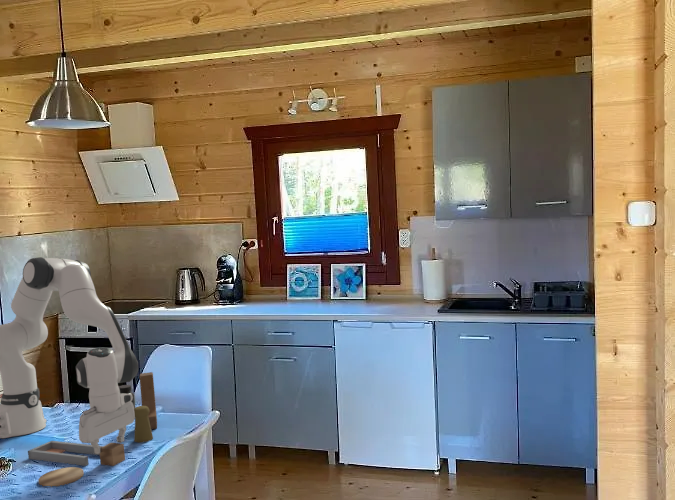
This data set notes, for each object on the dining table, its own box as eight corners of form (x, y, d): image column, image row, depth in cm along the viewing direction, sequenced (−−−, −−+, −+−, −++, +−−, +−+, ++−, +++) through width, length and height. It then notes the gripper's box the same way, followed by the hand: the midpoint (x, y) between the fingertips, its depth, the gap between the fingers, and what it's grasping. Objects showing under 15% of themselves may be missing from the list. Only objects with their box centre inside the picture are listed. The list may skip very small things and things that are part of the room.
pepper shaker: (142, 443, 220) (139, 410, 219) (130, 441, 223) (127, 408, 222) (157, 437, 225) (154, 404, 224) (144, 435, 228) (141, 403, 227)
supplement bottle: (133, 421, 245) (130, 388, 244) (114, 422, 245) (111, 389, 244) (138, 415, 252) (135, 383, 251) (120, 416, 252) (117, 384, 251)
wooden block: (157, 428, 234) (152, 377, 233) (143, 430, 233) (139, 379, 232) (157, 421, 243) (152, 371, 242) (144, 423, 242) (139, 373, 240)
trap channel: (28, 458, 213) (27, 450, 213) (52, 448, 222) (51, 440, 221) (85, 465, 203) (84, 457, 203) (108, 454, 212) (107, 446, 212)
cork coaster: (29, 484, 192) (28, 481, 192) (62, 468, 203) (61, 465, 203) (60, 488, 187) (60, 486, 187) (92, 472, 198) (92, 469, 198)
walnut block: (100, 464, 204) (99, 448, 204) (112, 458, 208) (110, 442, 208) (113, 466, 202) (112, 449, 201) (125, 460, 206) (123, 443, 206)
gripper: (87, 413, 194) (92, 460, 195) (136, 393, 212) (140, 436, 213) (71, 412, 196) (76, 459, 197) (120, 392, 215) (124, 435, 216)
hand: (109, 447), depth 205 cm, fingers open, 8 cm apart
